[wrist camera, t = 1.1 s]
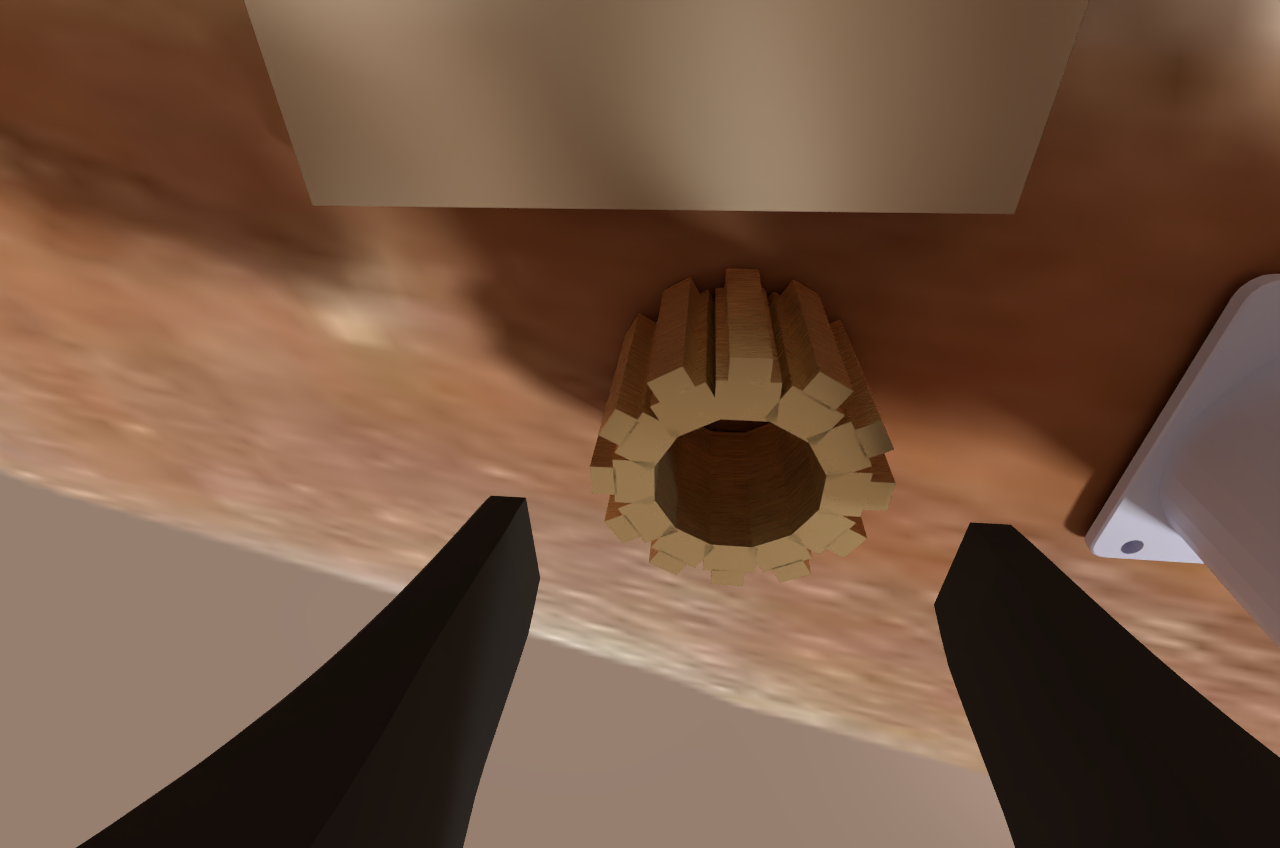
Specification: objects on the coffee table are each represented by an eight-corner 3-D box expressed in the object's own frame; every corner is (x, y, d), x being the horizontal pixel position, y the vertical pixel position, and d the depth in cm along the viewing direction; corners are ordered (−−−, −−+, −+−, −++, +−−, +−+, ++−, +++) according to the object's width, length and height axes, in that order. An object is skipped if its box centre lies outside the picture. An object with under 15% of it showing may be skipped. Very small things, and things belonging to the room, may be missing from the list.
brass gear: (876, 271, 12) (933, 364, 9) (830, 474, 16) (859, 594, 13) (613, 266, 13) (580, 352, 10) (622, 463, 16) (599, 575, 13)
